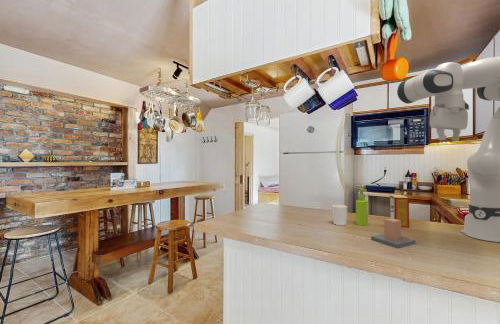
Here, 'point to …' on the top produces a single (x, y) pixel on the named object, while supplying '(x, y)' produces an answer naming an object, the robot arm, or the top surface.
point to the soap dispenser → (361, 209)
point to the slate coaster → (397, 243)
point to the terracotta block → (392, 229)
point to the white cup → (339, 214)
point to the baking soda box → (400, 209)
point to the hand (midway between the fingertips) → (448, 140)
